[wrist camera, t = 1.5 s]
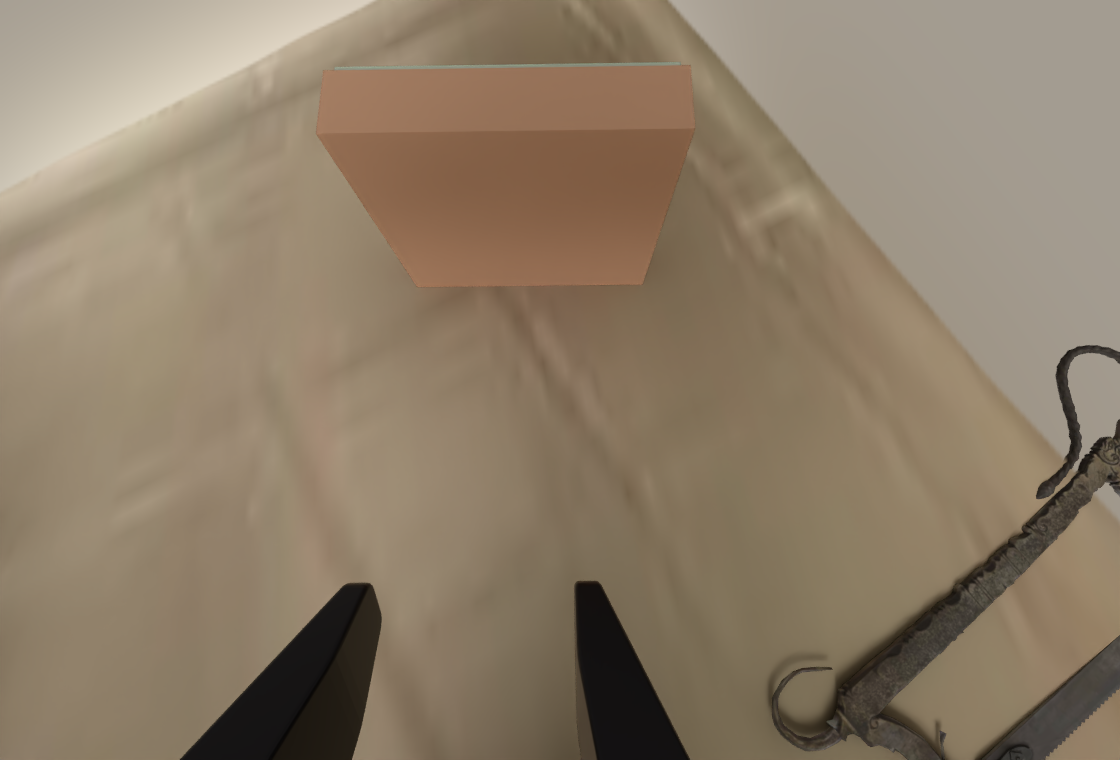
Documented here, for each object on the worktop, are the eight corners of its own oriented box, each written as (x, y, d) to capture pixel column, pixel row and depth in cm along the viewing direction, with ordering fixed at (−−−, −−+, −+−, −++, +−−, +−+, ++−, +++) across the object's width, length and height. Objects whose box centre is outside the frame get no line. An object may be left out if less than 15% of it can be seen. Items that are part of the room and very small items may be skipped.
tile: (642, 284, 24) (695, 128, 14) (417, 287, 24) (316, 133, 14) (640, 237, 24) (689, 55, 15) (420, 240, 24) (324, 60, 15)
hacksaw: (825, 940, 18) (847, 976, 17) (646, 666, 21) (652, 678, 19) (1288, 531, 21) (1341, 532, 20) (1089, 329, 24) (1124, 317, 22)
